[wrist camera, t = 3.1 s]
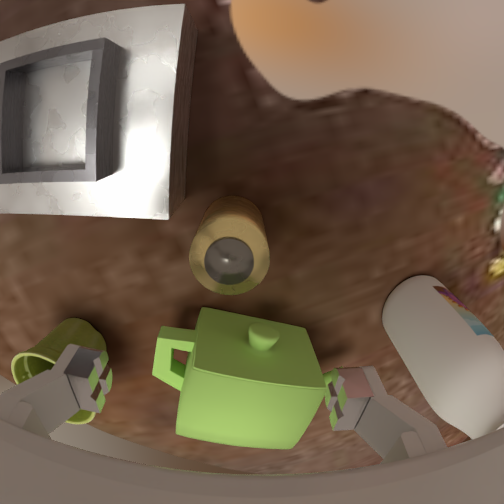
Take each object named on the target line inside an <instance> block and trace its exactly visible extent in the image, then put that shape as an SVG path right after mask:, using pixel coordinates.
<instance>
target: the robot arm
mask: <svg viewBox="0 0 504 504" xmlns="http://www.w3.org/2000/svg"><path fill="white" fill-rule="evenodd" d="M108 360H109V358H108V355H107V352H106V351H103V350H98V349H94V348H89V347H84V346H79V345H74V344H69V345H67V347H66V348H65V350H64V351H63V353H62V354H61V356H60V357H59V359H58V360H57V362H56V363H55V365H54V366H53V368H52V369H51V370H46V371H44V372H42V373H40V374H38V375H36V376H34V377H32V378H30V379H28V380H26V381H24V382H22V383H20V384H18V385H16V386H14V387H12V388H10V389H8V390H6V391H4V392H2V394H1V395H0V504H504V427H503V428H501V429H498V430H496V431H493V432H491V433H488V434H486V435H483V436H481V437H478V438H475V439H472V440H470V441H467V442H464V443H461V444H458V445H455V446H452V447H448V448H447V446H446V444H445V442H444V440H443V438H442V436H441V434H440V432H439V430H438V428H437V426H436V425H435V424H434V423H432V422H431V421H429V420H428V419H426V418H424V417H423V416H421V415H420V414H418V413H417V412H415V411H414V410H412V409H411V408H409V407H408V406H406V405H405V404H403V403H402V402H400V401H399V400H398V399H396V398H395V397H393V396H392V395H387V393H386V391H385V389H384V386H383V384H382V382H381V380H380V378H379V376H378V374H377V372H376V370H375V368H374V367H373V366H362V367H345V368H334V369H333V370H332V373H331V379H332V381H331V382H330V383H329V384H328V385H327V388H326V394H325V401H326V406H327V408H328V409H329V410H330V411H331V414H330V417H329V418H330V421H331V425H332V429H333V431H336V430H352V429H355V431H356V432H357V433H358V434H359V435H360V436H361V437H362V438H363V439H364V440H365V441H366V442H367V443H368V444H369V445H370V446H371V447H372V448H373V449H374V450H375V451H376V452H377V453H378V454H379V455H380V456H381V457H382V458H383V461H382V462H381V463H380V464H378V465H373V466H367V467H360V468H353V469H346V470H338V471H328V472H318V473H304V474H283V475H240V474H219V473H206V472H196V471H187V470H179V469H171V468H164V467H157V466H152V465H146V464H140V463H136V462H131V461H126V460H122V459H117V458H113V457H108V456H105V455H100V454H97V453H93V452H90V451H86V450H83V449H79V448H76V447H73V446H69V445H66V444H63V443H60V442H57V441H54V440H52V439H51V438H50V436H49V433H51V432H52V431H54V430H55V429H56V428H57V427H59V426H60V425H61V424H63V423H64V422H65V421H66V420H68V419H69V418H70V417H72V416H73V415H74V414H75V413H77V412H78V411H79V410H80V409H83V410H87V411H92V412H97V413H100V412H101V410H102V408H103V405H104V403H105V397H104V395H105V394H106V393H108V392H109V391H110V388H111V385H112V371H111V368H110V367H109V366H108V365H107V362H108Z"/></svg>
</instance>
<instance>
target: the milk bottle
mask: <svg viewBox="0 0 504 504" xmlns="http://www.w3.org/2000/svg"><path fill="white" fill-rule="evenodd" d="M382 322H383V326H384V329H385V330H386V332H387V334H388V336H389V338H390V339H391V341H392V343H393V344H394V346H395V348H396V349H397V351H398V353H399V354H400V356H401V358H402V359H403V361H404V363H405V365H406V366H407V368H408V370H409V371H410V373H411V375H412V377H413V378H414V380H415V382H416V383H417V385H418V387H419V389H420V390H421V392H422V393H423V395H424V397H425V398H426V400H427V402H428V403H429V405H430V406H431V407H432V409H433V410H434V411H435V412H436V413H437V414H438V415H439V416H440V417H441V418H442V419H443V420H445V421H446V422H448V423H449V424H451V425H453V426H455V427H456V428H458V429H460V430H461V431H463V432H464V433H466V434H467V435H468V436H469V437H471V438H472V439H475V438H478V437H481V436H483V435H486V434H488V433H491V432H493V431H496V430H498V429H501V428H503V427H504V351H503V349H502V347H501V346H500V344H499V343H498V342H497V340H496V339H495V338H494V337H493V335H492V334H491V333H490V332H489V331H488V330H487V328H486V327H485V326H484V325H483V324H482V323H481V322H480V321H479V320H478V319H477V318H476V317H475V316H474V315H473V314H472V312H471V311H470V310H469V309H468V308H467V307H466V306H465V305H464V304H463V303H462V302H461V301H460V300H459V299H458V298H457V297H455V296H454V295H453V294H452V293H451V292H450V291H449V290H448V289H447V288H446V287H445V286H444V285H443V284H442V283H441V282H439V281H438V280H437V279H436V278H434V277H431V276H426V275H420V276H414V277H411V278H409V279H407V280H405V281H403V282H402V283H401V284H399V285H398V286H397V287H396V288H395V289H394V290H393V291H392V292H391V294H390V295H389V296H388V298H387V300H386V302H385V305H384V308H383V313H382Z"/></svg>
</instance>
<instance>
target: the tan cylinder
mask: <svg viewBox="0 0 504 504" xmlns="http://www.w3.org/2000/svg"><path fill="white" fill-rule="evenodd" d="M189 263H190V267H191V270H192V272H193V274H194V276H195V277H196V279H197V280H198V281H199V282H200V283H201V284H202V285H203V286H204V287H206V288H207V289H209V290H211V291H213V292H216V293H219V294H224V295H236V294H241V293H244V292H247V291H249V290H251V289H253V288H254V287H256V286H257V285H258V284H259V283H260V282H261V281H262V280H263V278H264V277H265V275H266V273H267V271H268V268H269V264H270V252H269V247H268V243H267V238H266V233H265V228H264V223H263V219H262V215H261V213H260V211H259V209H258V208H257V206H256V205H255V204H254V203H252V202H251V201H250V200H248V199H246V198H244V197H240V196H225V197H222V198H219V199H217V200H216V201H214V202H213V203H212V204H211V205H210V206H209V207H208V208H207V210H206V212H205V214H204V216H203V218H202V221H201V223H200V225H199V228H198V230H197V232H196V235H195V237H194V239H193V242H192V244H191V247H190V251H189Z"/></svg>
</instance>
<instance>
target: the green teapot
mask: <svg viewBox="0 0 504 504" xmlns="http://www.w3.org/2000/svg"><path fill="white" fill-rule="evenodd" d="M174 349H179V350H183V351H188V356H187V360H186V365H184V364H182V363H181V362H179V361H177V360H175V359H173V354H174ZM339 368H343V367H339ZM331 373H332V371H329V372H327V373H324V374H322V372H321V369H320V366H319V363H318V360H317V357H316V355H315V352H314V349H313V347H312V344H311V341H310V339H309V336H308V334H307V331H306V329H305V328H302V327H298V326H293V325H289V324H284V323H279V322H275V321H270V320H265V319H260V318H256V317H251V316H246V315H241V314H236V313H231V312H227V311H222V310H217V309H212V308H207V307H202V308H201V310H200V313H199V317H198V320H197V323H196V326H195V330H190V329H182V328H174V327H167V326H161V329H160V332H159V335H158V338H157V344H156V351H155V358H154V365H153V372H152V375H154V376H155V377H157V378H159V379H160V380H162V381H164V382H166V383H167V384H169V385H171V386H173V387H174V388H176V389H178V390H180V391H181V393H180V400H179V406H178V414H177V422H176V434H178V435H181V436H185V437H189V438H194V439H198V440H203V441H209V442H214V443H220V444H227V445H234V446H242V447H253V448H267V449H292V448H293V447H294V446H295V444H296V443H297V442H298V441H299V439H300V438H301V437H302V435H303V434H304V432H305V430H306V429H307V427H308V425H309V424H310V422H311V420H312V418H313V417H314V415H315V413H316V411H317V409H318V407H319V405H320V403H321V401H322V399H323V397H324V396H325V394H326V388H327V385H328V384H329V383H330V382H331V381H332V379H331Z"/></svg>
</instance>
